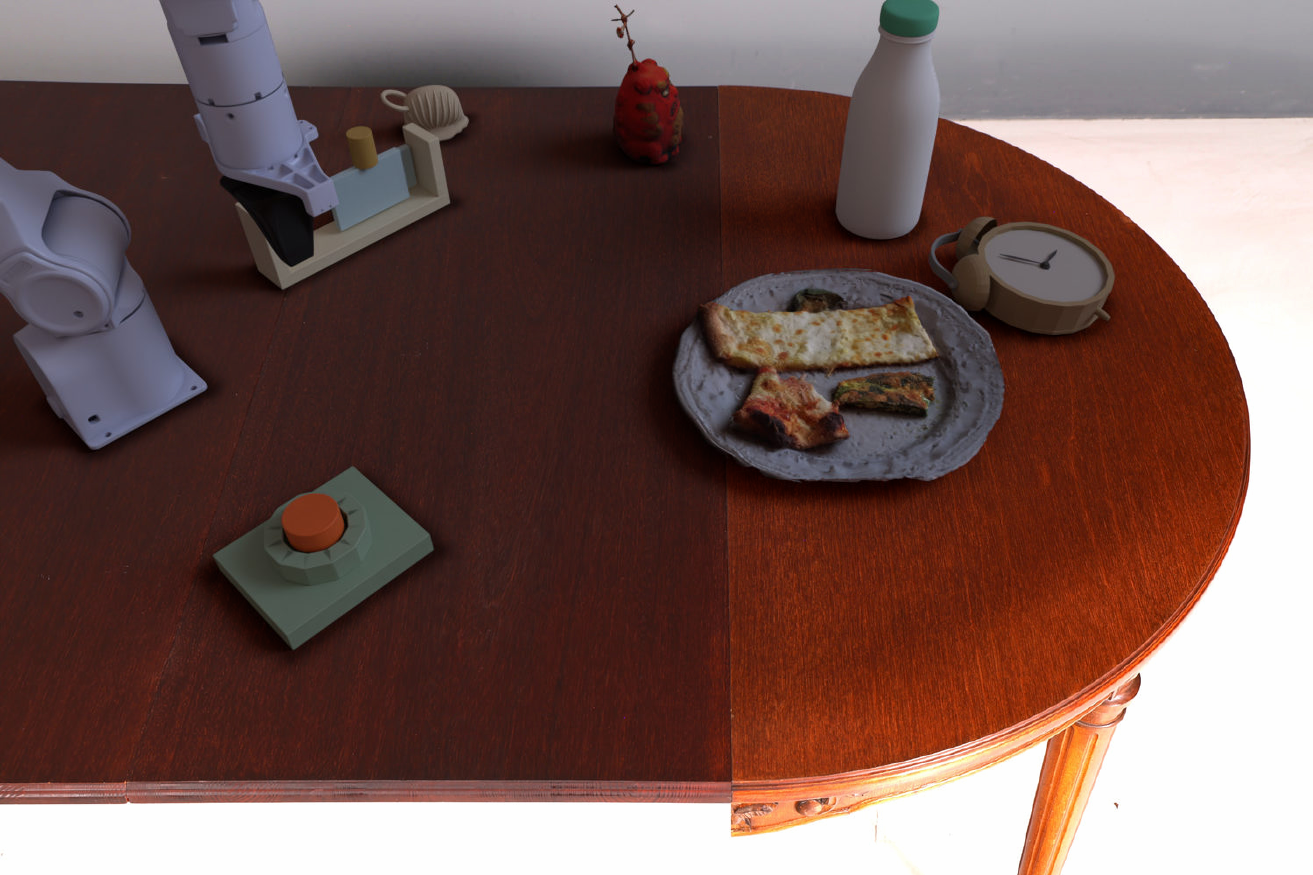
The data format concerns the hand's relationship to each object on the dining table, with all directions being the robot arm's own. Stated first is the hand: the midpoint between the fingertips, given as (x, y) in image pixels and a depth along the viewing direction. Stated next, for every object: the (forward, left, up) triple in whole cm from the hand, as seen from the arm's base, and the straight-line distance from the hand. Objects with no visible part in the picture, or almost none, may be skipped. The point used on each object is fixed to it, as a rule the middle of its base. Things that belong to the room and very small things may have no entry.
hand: (297, 258), depth 77 cm
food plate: (+26, -31, -11) cm, 41 cm away
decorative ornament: (+28, +23, -11) cm, 38 cm away
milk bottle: (+47, -20, -11) cm, 52 cm away
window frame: (+12, +13, -10) cm, 20 cm away
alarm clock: (+46, -35, -11) cm, 58 cm away
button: (-11, -17, -7) cm, 22 cm away
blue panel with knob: (+14, +13, -9) cm, 21 cm away
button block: (-11, -17, -10) cm, 23 cm away
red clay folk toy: (+41, +4, -11) cm, 42 cm away
